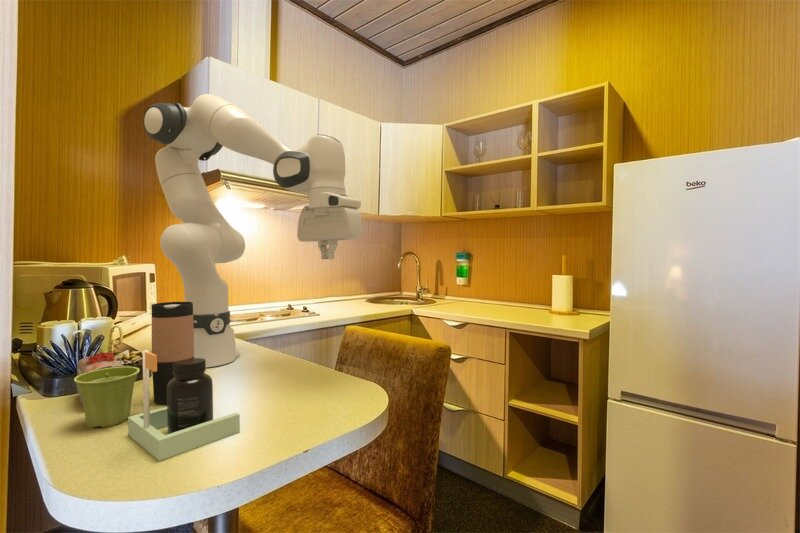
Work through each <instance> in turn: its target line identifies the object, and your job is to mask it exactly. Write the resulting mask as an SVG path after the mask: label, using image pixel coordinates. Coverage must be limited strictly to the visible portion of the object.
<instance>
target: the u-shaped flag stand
mask: <svg viewBox="0 0 800 533" xmlns="http://www.w3.org/2000/svg"><path fill="white" fill-rule="evenodd" d="M150 371H151V372H152V371H154V372H155V371H157V355H155V354H153V353H152V352H150V351H149V349H142V389H143V390H142V395H143V396H142V399H143V401H142V403H143V406H142V408H143V412H142V413H139V414H135V415H134V414H133V415H131V416H130V415H129V417H128V418H127V426H128V427H127V435H128V436H129V437H130V438H131V439H132V440H133V441H134V442H136V443H137V444H138V445H140V447H142V448H143V449H144V450H145V451H147V453H149V454H150V455H151V456H152V457H154V458H155V459H156V460H157V461H158V462H162V461H164V460H167V459H169V458H173V457H175V456H177V455H180V454H183V453H185V452H189V451H192V450H193V449H197V448H199V447H202V446H204V445H208V444H210V443H213V442H216V441H218V440H221V439H224V438H227V437H230V436H232V435H235V434H238V433H240V431H241V427H240V426H241V424H240V421H241V420H240V419H241V417H240V416H241V414H240V413H238V412H233V413H230V414H226V415H224V416H221V417H218V418H215V419H214V418H213V420H211V421H208V422H205V423H202V424H198V425H195V426H192V427H189V428H186V429H183V430H180V431H177V432H174V433H171V434H168V433H167V434H164V433H162V432H161V431H159V429H163V428H166V427H168V426H167V406H164V407H160V408H157V409H153V410H150V406H151V405H150V404H151V403H150Z"/></svg>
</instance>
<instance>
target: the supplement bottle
mask: <svg viewBox="0 0 800 533" xmlns="http://www.w3.org/2000/svg"><path fill="white" fill-rule="evenodd" d="M173 370H174V371H173V375H175V377H174V378H173V379H171V380H170V381H169V383H168V385H167V405H166V407H167V426H166V427H167V434H171V433H174V432H177V431H180V430H183V429H186V428H189V427H192V426H195V425H198V424H202V423H205V422H208V421H211V420H214V394H213V390H214V389H213V387H214V386H213V379H212V377H211V375H209V374H207V373H205V371H206V370H207V367H206V361H205V359H203V358H191V359H184V360H180V361H177V362H175V363H174V364H173Z"/></svg>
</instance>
